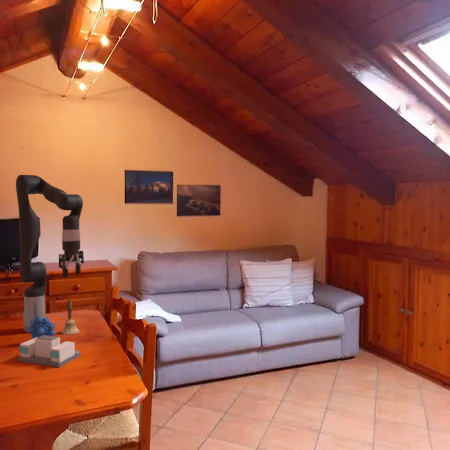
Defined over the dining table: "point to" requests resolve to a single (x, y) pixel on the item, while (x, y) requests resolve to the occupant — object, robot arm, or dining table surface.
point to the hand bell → (70, 322)
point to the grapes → (41, 327)
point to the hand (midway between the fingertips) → (71, 275)
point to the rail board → (57, 354)
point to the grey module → (45, 345)
